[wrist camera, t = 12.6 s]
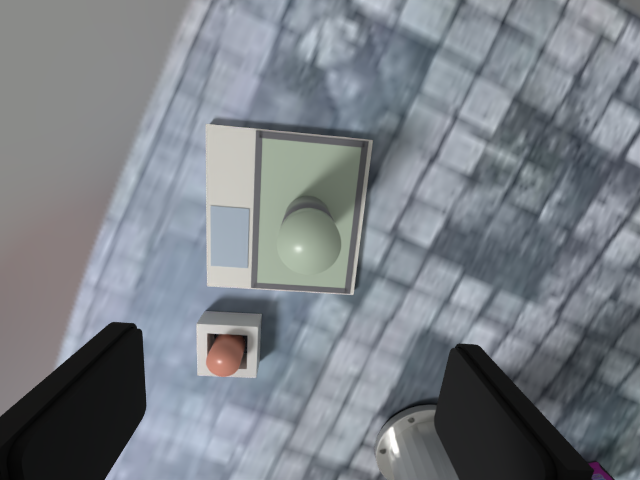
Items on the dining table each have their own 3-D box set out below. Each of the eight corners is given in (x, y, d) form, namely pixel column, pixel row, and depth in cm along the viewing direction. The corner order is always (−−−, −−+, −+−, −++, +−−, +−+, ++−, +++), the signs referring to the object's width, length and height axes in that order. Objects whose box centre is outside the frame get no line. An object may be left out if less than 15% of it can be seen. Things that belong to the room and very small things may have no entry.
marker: (332, 197, 29) (344, 215, 20) (328, 241, 30) (338, 276, 21) (285, 194, 29) (278, 210, 20) (283, 239, 30) (275, 273, 21)
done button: (246, 331, 32) (240, 348, 29) (245, 357, 33) (239, 377, 30) (214, 329, 32) (205, 347, 29) (214, 356, 32) (206, 375, 30)
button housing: (261, 313, 33) (258, 327, 30) (259, 361, 34) (256, 377, 32) (204, 310, 32) (196, 323, 30) (205, 359, 34) (197, 375, 31)
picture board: (371, 140, 29) (373, 140, 28) (352, 291, 33) (353, 295, 32) (208, 124, 28) (205, 123, 27) (209, 283, 32) (206, 286, 31)
